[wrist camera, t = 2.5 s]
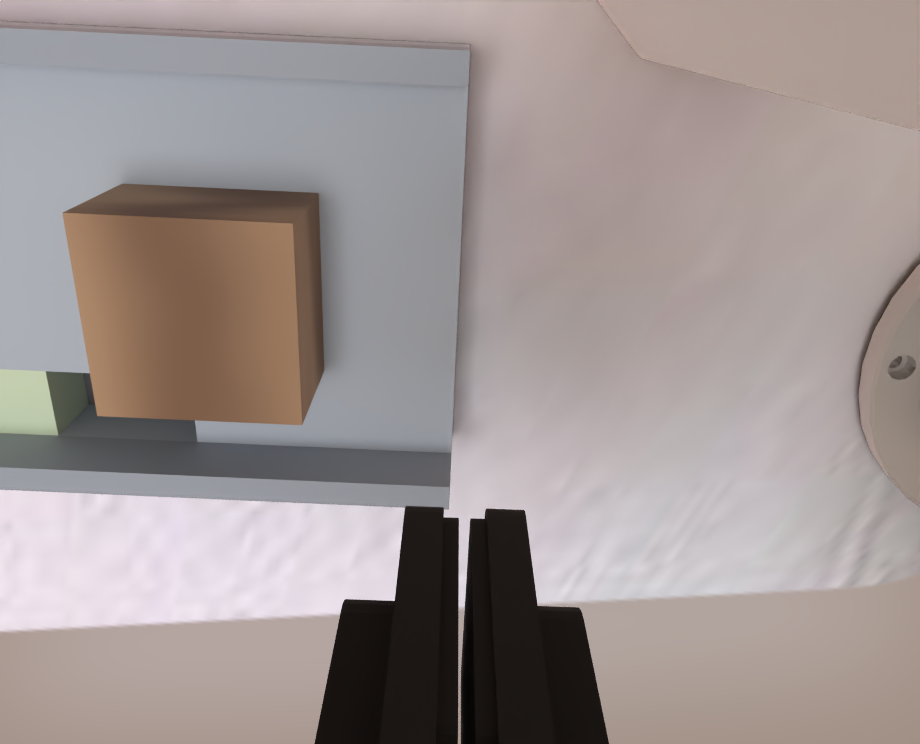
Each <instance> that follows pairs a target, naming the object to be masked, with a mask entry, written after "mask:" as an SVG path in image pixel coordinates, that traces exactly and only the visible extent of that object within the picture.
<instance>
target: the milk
mask: <svg viewBox="0 0 920 744" xmlns="http://www.w3.org/2000/svg"><path fill="white" fill-rule="evenodd" d="M597 1H598V2H599V4H600V5H601V6H602V8H603V9H604V10H605V12H606V13H607V14H608V16H609V17H610V19H611V20H612V21H613V23H614V24H615V25H616V27H617V28H618V29H619V31H620V32H621V34H622V35H623V36H624V38H625V39H626V40H627V42H628V43H629V44H630V46H631V47H632V49H633V50H634V51H635V53H636V54H637V55H638V56H639V57H640V58H642V59H645V60H649V61H653V62H657V63H661V64H665V65H668V66H672V67H676V68H680V69H684V70H688V71H691V72H695V73H699V74H703V75H707V76H711V77H715V78H718V79H722V80H726V81H730V82H734V83H738V84H741V85H745V86H749V87H753V88H757V89H761V90H765V91H768V92H772V93H776V94H780V95H784V96H788V97H791V98H795V99H799V100H803V101H807V102H811V103H815V104H818V105H822V106H826V107H830V108H834V109H838V110H841V111H845V112H849V113H853V114H857V115H861V116H865V117H868V118H872V119H876V120H880V121H884V122H888V123H891V124H895V125H899V126H903V127H907V128H911V129H915V130H918V131H920V0H597Z"/></svg>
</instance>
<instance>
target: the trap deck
mask: <svg viewBox="0 0 920 744" xmlns="http://www.w3.org/2000/svg"><path fill="white" fill-rule="evenodd" d="M469 65H470V44H459V43H438V42H418V41H398V40H377V39H357V38H336V37H316V36H296V35H275V34H255V33H235V32H214V31H194V30H174V29H153V28H133V27H112V26H92V25H72V24H51V23H31V22H11V21H0V490H22V491H45V492H67V493H90V494H112V495H135V496H158V497H180V498H203V499H225V500H248V501H271V502H293V503H316V504H338V505H361V506H384V507H406V506H426V507H444V509H449V495H450V472H451V449H452V427H453V406H454V384H455V363H456V341H457V320H458V298H459V277H460V255H461V234H462V212H463V191H464V169H465V148H466V126H467V105H468V86H469ZM120 184H141V185H162V186H183V187H204V188H225V189H247V190H268V191H289V192H310V193H319V217H320V248H321V280H322V312H323V343H324V373H323V376H322V378H321V380H320V383H319V385H318V388H317V390H316V393H315V395H314V398H313V400H312V402H311V405H310V407H309V410H308V412H307V415H306V417H305V420H304V422H303V425H284V424H262V423H239V422H217V421H195V420H173V419H151V418H128V417H106V416H97V412H96V406H95V400H94V394H93V388H92V383H91V377H90V371H89V365H88V359H87V354H86V348H85V342H84V336H83V330H82V324H81V319H80V313H79V307H78V301H77V295H76V290H75V284H74V278H73V272H72V266H71V260H70V255H69V249H68V243H67V237H66V231H65V226H64V220H63V214H62V213H63V212H65V211H67V210H69V209H71V208H73V207H75V206H77V205H79V204H81V203H83V202H85V201H87V200H89V199H92V198H94V197H96V196H98V195H100V194H102V193H104V192H106V191H108V190H110V189H112V188H114V187H116V186H118V185H120Z"/></svg>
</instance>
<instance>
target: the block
mask: <svg viewBox="0 0 920 744" xmlns="http://www.w3.org/2000/svg"><path fill="white" fill-rule="evenodd" d="M62 214H63V220H64V226H65V231H66V237H67V243H68V249H69V255H70V260H71V266H72V272H73V278H74V284H75V290H76V295H77V301H78V307H79V313H80V319H81V324H82V330H83V336H84V342H85V348H86V354H87V359H88V365H89V371H90V377H91V383H92V388H93V394H94V400H95V406H96V412H97V416H106V417H128V418H151V419H173V420H195V421H217V422H239V423H262V424H284V425H303V422H304V420H305V417H306V415H307V412H308V410H309V407H310V405H311V402H312V400H313V398H314V395H315V393H316V390H317V388H318V385H319V383H320V380H321V378H322V376H323V373H324V343H323V312H322V280H321V248H320V217H319V193H310V192H289V191H268V190H247V189H225V188H204V187H183V186H162V185H141V184H120V185H118V186H116V187H114V188H112V189H110V190H108V191H106V192H104V193H102V194H100V195H98V196H96V197H94V198H92V199H89V200H87V201H85V202H83V203H81V204H79V205H77V206H75V207H73V208H71V209H69V210H67V211H65V212H63V213H62Z"/></svg>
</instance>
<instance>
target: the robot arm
mask: <svg viewBox="0 0 920 744" xmlns="http://www.w3.org/2000/svg"><path fill="white" fill-rule="evenodd" d="M859 406H860V417H861V426H862V428H863V431H864V434H865V437H866V440H867V443H868V446H869V449H870V451H871V453H872V454H873V456H874V457H875V459H876V461H877V462H878V464H879V465H880V467H881V468H882V470H883V471H884V473H885V474H886V475H887V476H888V477H889V478H890V479H891V480H892V481H893V482H894V483H895V485H896V486H897V487H898V488H899V489H900V490H901V491H902V492H903V493H904V494H905V496H907V497H908V498H909V499H910V500H912V501H913V502H914V503H916V504H917V505H918V506H920V264H919V265H918V266H917V267H916V268H915V270H914V271H913V272H912V273H911V275H910V276H909V277H908V278H907V280H906V281H905V282H904V283H903V285H902V286H901V287H900V289H899V290H898V291H897V292H896V294H895V295H894V296H893V297H892V299H891V301H890V303H889V304H888V306H887V308H886V310H885V312H884V313H883V315H882V317H881V319H880V321H879V322H878V324H877V326H876V328H875V330H874V332H873V335H872V338H871V341H870V344H869V346H868V349H867V352H866V355H865V358H864V361H863V365H862V372H861V380H860V388H859ZM443 514H444V507H426V506H406V507H405V514H404V523H403V532H402V541H401V550H400V559H399V568H398V577H397V586H396V595H395V601H377V600H349V599H345V600H344V602H343V605H342V609H341V614H340V619H339V624H338V629H337V634H336V639H335V644H334V649H333V654H332V659H331V664H330V670H329V674H328V679H327V684H326V689H325V694H324V700H323V704H322V710H321V715H320V719H319V725H318V729H317V734H316V740H315V744H458V551H459V519H458V518H443ZM461 666H462V667H461V744H609V742H608V737H607V732H606V727H605V722H604V717H603V712H602V707H601V702H600V698H599V693H598V688H597V683H596V678H595V673H594V668H593V663H592V658H591V653H590V648H589V644H588V639H587V633H586V629H585V624H584V619H583V616H582V612H581V610H580V609H579V608H575V607H547V606H537V599H536V591H535V583H534V576H533V568H532V560H531V553H530V545H529V537H528V530H527V522H526V515H525V511H524V510H506V509H486V512H485V519H471V520H470V533H469V550H468V566H467V582H466V599H465V615H464V631H463V649H462V665H461Z"/></svg>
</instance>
